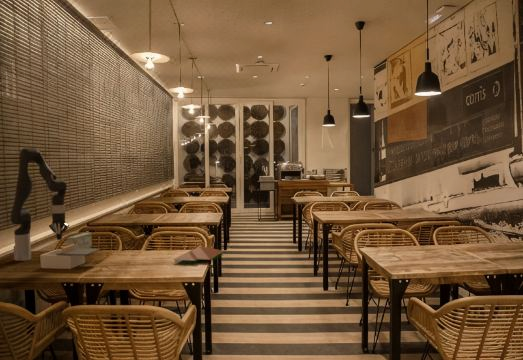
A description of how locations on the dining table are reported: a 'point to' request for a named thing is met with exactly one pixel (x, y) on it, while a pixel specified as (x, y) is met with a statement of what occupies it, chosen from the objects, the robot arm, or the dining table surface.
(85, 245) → the snack box
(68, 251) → the mailer lid
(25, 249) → the robot arm
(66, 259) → the box
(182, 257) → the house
